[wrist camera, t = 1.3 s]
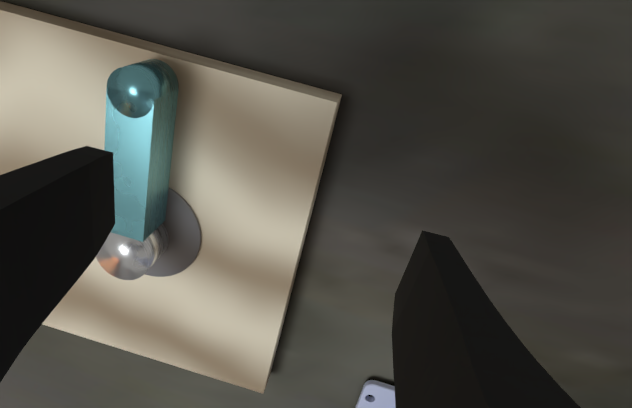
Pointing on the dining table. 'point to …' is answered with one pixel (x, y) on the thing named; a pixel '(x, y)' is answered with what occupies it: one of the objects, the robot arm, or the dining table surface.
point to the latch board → (179, 192)
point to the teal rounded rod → (139, 164)
